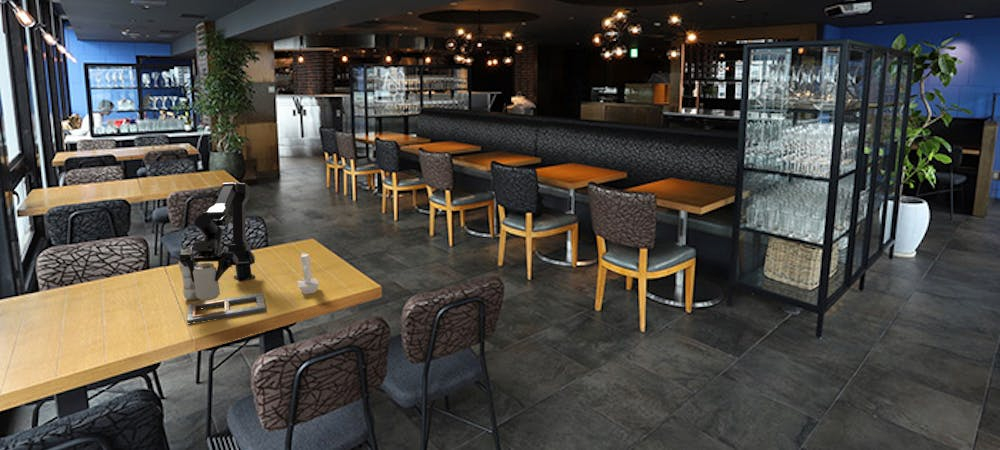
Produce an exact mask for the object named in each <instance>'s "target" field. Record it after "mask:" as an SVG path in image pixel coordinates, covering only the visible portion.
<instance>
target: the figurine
mask: <svg viewBox="0 0 1000 450" xmlns="http://www.w3.org/2000/svg"><path fill="white" fill-rule="evenodd" d="M310 260H311V259H310V254H309V253H304V252H303V253H301V254H300V261H301V266H302V272H303V280H297V281H296V282H297V285H298V288H299V289H300V290H301V292H302V294H303V295H308V294H315V293H316V292H317V290H318V287H319V285H320V283H319V281H318V279H317V278H316V277H315V278H312V277H313V276H312V268H311V265H310V264H311V261H310Z"/></svg>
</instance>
